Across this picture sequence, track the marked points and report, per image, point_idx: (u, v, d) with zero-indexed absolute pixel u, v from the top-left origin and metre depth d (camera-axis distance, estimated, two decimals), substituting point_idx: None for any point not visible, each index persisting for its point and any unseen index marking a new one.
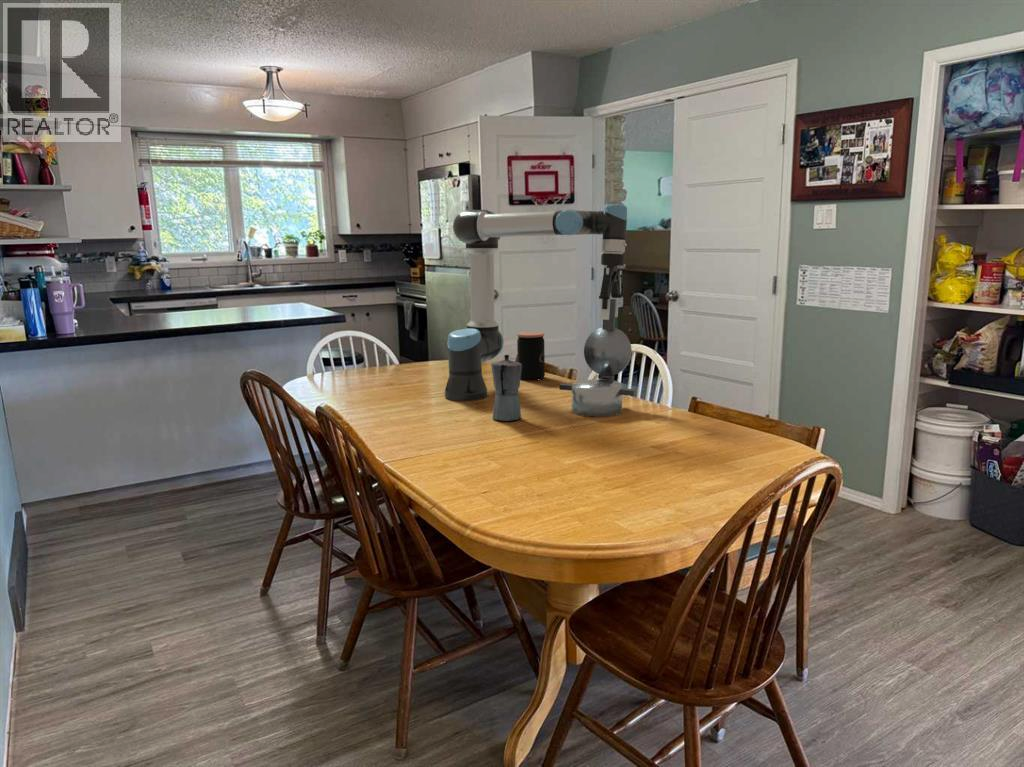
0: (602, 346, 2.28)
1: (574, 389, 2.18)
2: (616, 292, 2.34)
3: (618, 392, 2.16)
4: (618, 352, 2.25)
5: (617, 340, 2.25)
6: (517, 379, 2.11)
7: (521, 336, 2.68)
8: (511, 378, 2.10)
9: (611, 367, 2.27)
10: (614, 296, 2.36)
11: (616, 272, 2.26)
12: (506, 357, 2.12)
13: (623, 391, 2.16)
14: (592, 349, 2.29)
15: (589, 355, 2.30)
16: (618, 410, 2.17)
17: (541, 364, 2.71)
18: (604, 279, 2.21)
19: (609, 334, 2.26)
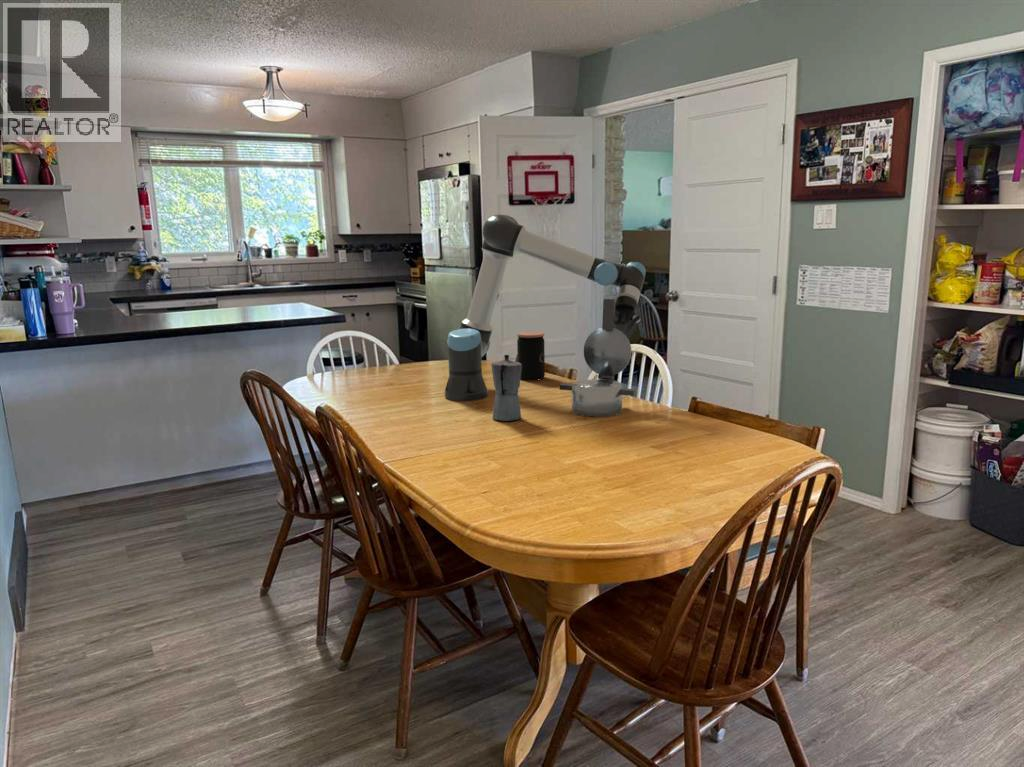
0: (602, 346, 2.27)
1: (574, 389, 2.18)
2: None
3: (618, 392, 2.16)
4: (618, 352, 2.25)
5: (617, 340, 2.25)
6: (517, 379, 2.11)
7: (521, 336, 2.68)
8: (511, 378, 2.10)
9: (611, 367, 2.27)
10: None
11: None
12: (506, 357, 2.12)
13: (623, 391, 2.16)
14: (592, 349, 2.29)
15: (589, 355, 2.30)
16: (618, 410, 2.17)
17: (541, 364, 2.71)
18: (633, 325, 2.32)
19: (609, 334, 2.26)
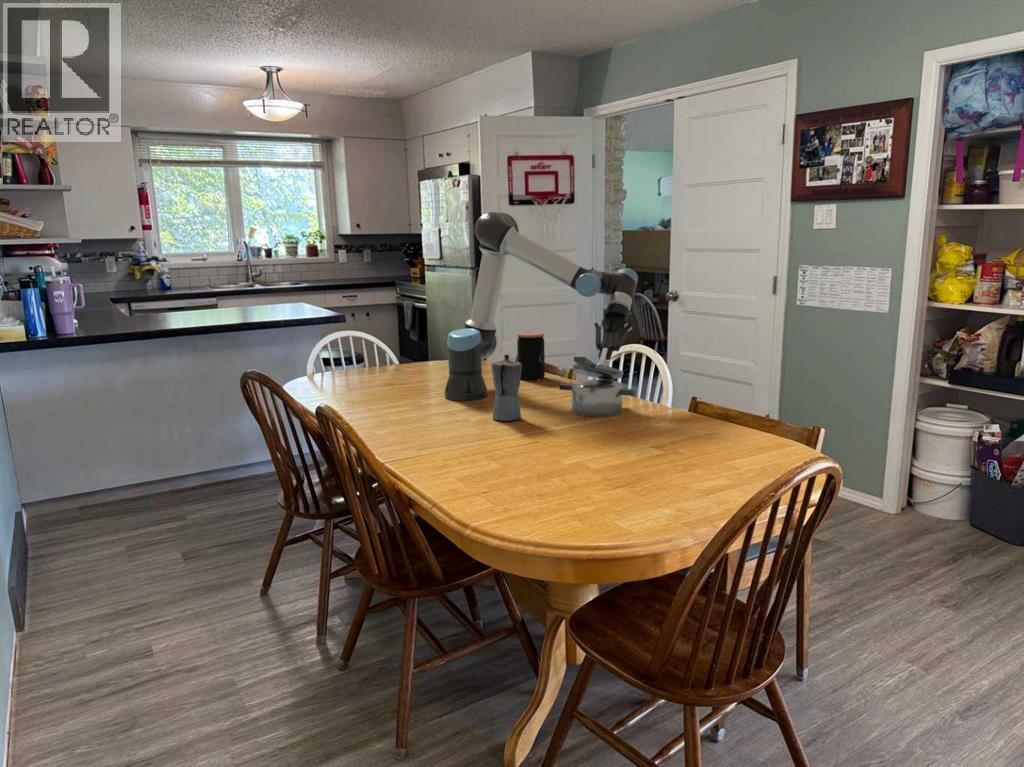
0: (591, 372, 2.20)
1: (574, 389, 2.18)
2: (606, 344, 2.26)
3: (618, 392, 2.16)
4: (609, 374, 2.19)
5: (604, 371, 2.16)
6: (517, 379, 2.11)
7: (521, 336, 2.68)
8: (511, 378, 2.10)
9: (608, 377, 2.25)
10: (604, 347, 2.25)
11: None
12: (506, 357, 2.12)
13: (623, 391, 2.16)
14: (582, 372, 2.23)
15: (581, 373, 2.25)
16: (618, 410, 2.17)
17: (541, 364, 2.71)
18: (624, 334, 2.25)
19: (593, 369, 2.16)
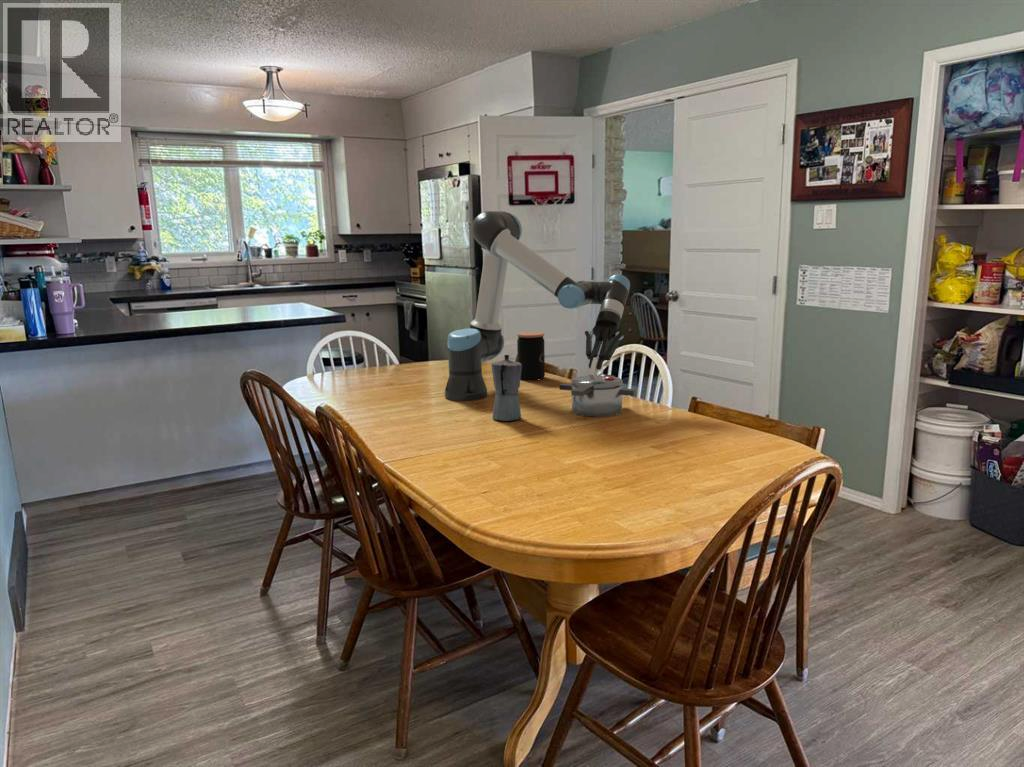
0: None
1: None
2: (597, 353, 2.19)
3: (618, 392, 2.16)
4: None
5: None
6: (517, 379, 2.11)
7: (521, 336, 2.68)
8: (511, 378, 2.10)
9: None
10: (595, 357, 2.18)
11: None
12: (506, 357, 2.12)
13: (623, 391, 2.16)
14: None
15: None
16: (618, 410, 2.17)
17: (541, 364, 2.71)
18: (615, 343, 2.17)
19: None
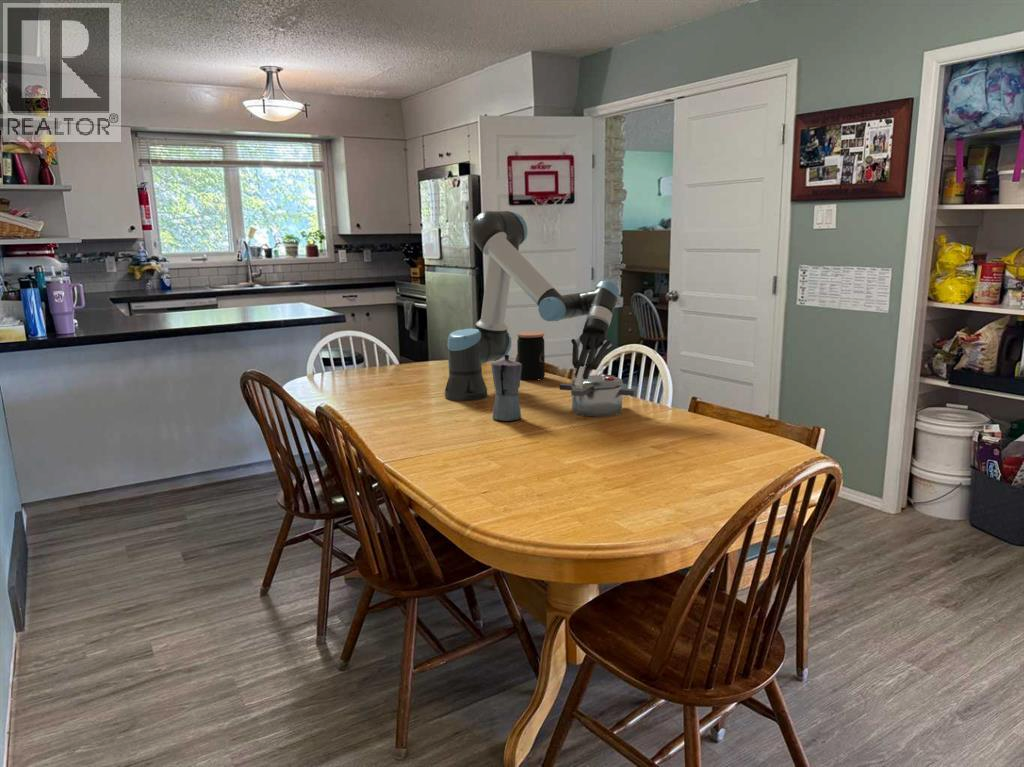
0: None
1: None
2: (584, 362, 2.11)
3: (618, 392, 2.16)
4: None
5: None
6: (517, 379, 2.11)
7: (521, 336, 2.68)
8: (511, 378, 2.10)
9: None
10: (581, 366, 2.10)
11: None
12: (506, 357, 2.12)
13: (623, 391, 2.16)
14: None
15: None
16: (618, 410, 2.17)
17: (541, 364, 2.71)
18: (603, 351, 2.09)
19: None
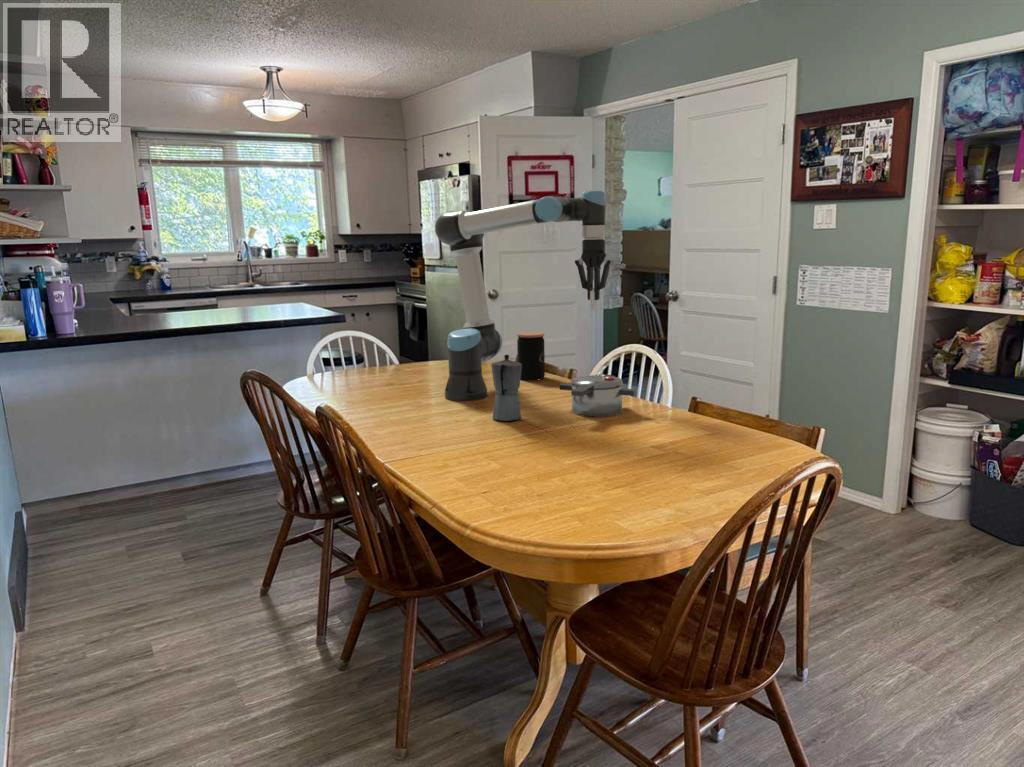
0: None
1: None
2: (592, 282, 2.35)
3: (618, 392, 2.16)
4: None
5: None
6: (517, 379, 2.11)
7: (521, 336, 2.68)
8: (511, 378, 2.10)
9: None
10: (591, 287, 2.34)
11: None
12: (506, 357, 2.12)
13: (623, 391, 2.16)
14: None
15: None
16: (618, 410, 2.17)
17: (541, 364, 2.71)
18: (606, 271, 2.30)
19: None
